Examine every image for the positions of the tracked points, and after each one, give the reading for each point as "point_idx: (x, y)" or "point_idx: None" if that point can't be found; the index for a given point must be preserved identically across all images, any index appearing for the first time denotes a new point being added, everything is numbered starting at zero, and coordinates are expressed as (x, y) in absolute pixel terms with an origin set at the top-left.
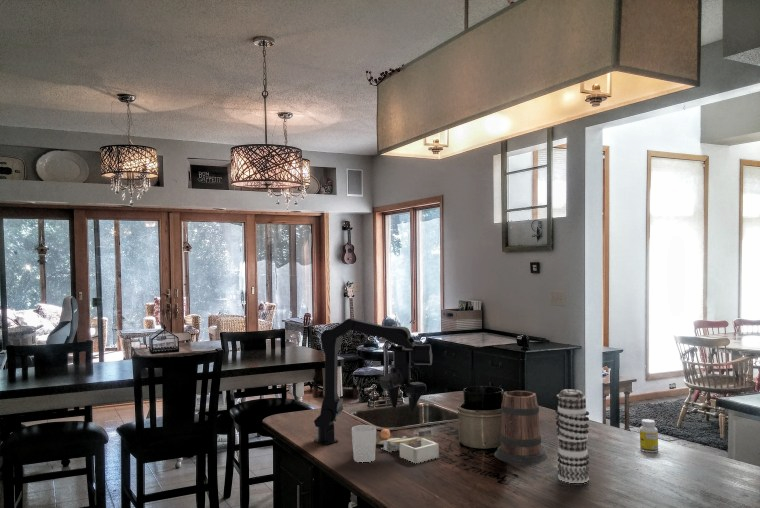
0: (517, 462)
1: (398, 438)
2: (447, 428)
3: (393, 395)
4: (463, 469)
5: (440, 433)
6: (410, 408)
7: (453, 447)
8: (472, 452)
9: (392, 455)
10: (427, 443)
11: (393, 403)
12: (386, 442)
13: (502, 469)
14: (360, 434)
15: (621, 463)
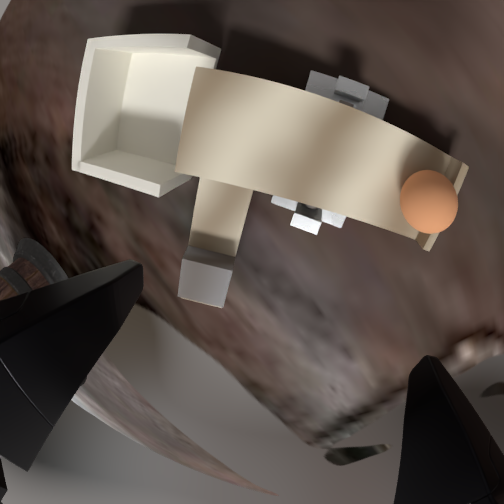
0: (20, 242)
1: (342, 204)
2: (287, 415)
3: (444, 484)
4: (35, 128)
5: (278, 384)
6: (92, 272)
7: (151, 282)
8: (93, 263)
9: (269, 48)
10: (124, 168)
11: (435, 393)
12: (340, 77)
13: (12, 191)
14: None
15: None
